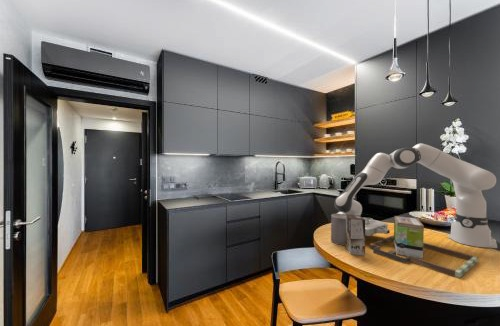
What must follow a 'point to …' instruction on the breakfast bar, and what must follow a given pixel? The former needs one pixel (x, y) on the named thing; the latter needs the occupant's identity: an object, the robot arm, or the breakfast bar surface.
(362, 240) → the coffee box
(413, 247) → the tea box
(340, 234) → the pillar candle
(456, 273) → the channel
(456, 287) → the breakfast bar surface
